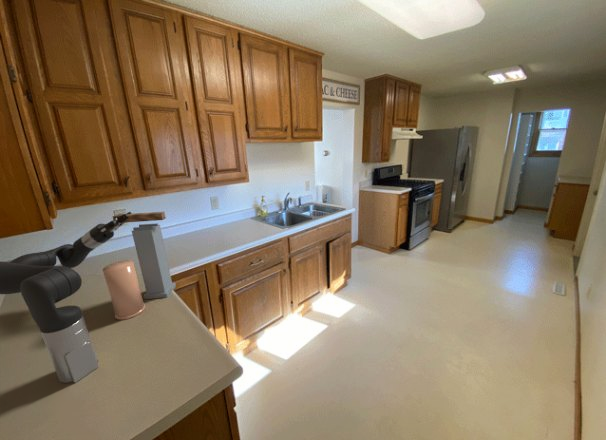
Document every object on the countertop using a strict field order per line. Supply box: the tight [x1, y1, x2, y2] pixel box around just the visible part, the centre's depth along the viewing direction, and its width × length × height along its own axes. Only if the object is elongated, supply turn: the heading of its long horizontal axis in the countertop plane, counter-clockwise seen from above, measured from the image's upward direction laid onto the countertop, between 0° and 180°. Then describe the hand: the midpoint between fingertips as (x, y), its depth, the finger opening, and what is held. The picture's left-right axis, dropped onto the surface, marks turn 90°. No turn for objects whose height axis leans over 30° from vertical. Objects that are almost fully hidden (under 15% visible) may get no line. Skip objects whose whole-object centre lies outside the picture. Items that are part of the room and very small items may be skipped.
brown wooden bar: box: [112, 211, 166, 224], centre depth 110 cm, size 20×3×3 cm, turn 95°
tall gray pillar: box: [131, 223, 177, 300], centre depth 116 cm, size 10×10×33 cm
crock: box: [102, 259, 146, 321], centre depth 103 cm, size 11×11×21 cm
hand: (128, 214), depth 109 cm, fingers closed on brown wooden bar, 3 cm apart
